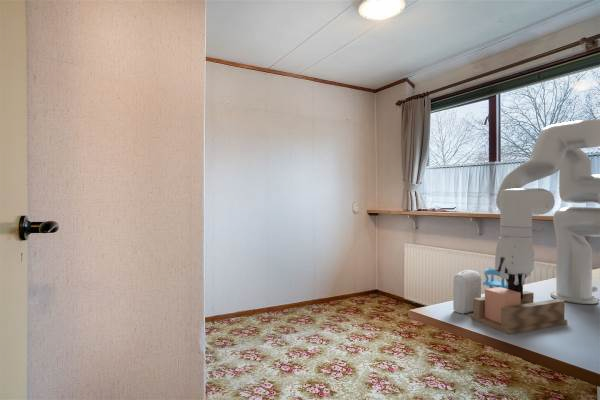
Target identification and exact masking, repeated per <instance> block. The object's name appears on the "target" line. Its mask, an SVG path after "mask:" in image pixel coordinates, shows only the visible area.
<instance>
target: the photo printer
mask: <svg viewBox="0 0 600 400" xmlns="http://www.w3.org/2000/svg"><path fill="white" fill-rule="evenodd" d="M452 290H453V291H452V292H453V299H452V300H453V301H452V302H453V306H452V307H453V311H454V312H456V313H459V314H468V313H471V312H473V298H480V297H482V276H481V275H480V272H478V271H476V270H475V269H474V270H473V269H472V270H471V269H464V270H462V271H459V272H457V273H456V275H455V276H453V289H452Z"/></svg>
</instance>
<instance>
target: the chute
mask: <svg viewBox="0 0 600 400" xmlns="http://www.w3.org/2000/svg"><path fill="white" fill-rule="evenodd" d="M565 303H566V301H563V300H559V299H556V298H553V299H547V300H542V301H535V302H534V292H531V291H527V290H526V291H525V290H523V299H521V305H515V306H509V307H502V308H501V324H500V323H498V322H495V321H492V320H490V319H487V318H485V296H481V297H480V298H473V311H472V313H473V314H471V315H470V316H471V317H470V318H471V319H472V320H473V321H477V322H478V323H481V324H483V325H486V326H489V327H490V328H494V329H496V330H498V331H501V332H504V333H506V334H509V335H515V334H520V333H525V332H530V331H537V330H540V329H545V328H550V327H551V328H552V327H555V326H562V325H566V324H568V319H566V318H565V308H566V307H565V305H566V304H565Z"/></svg>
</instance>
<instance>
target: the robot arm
mask: <svg viewBox="0 0 600 400" xmlns="http://www.w3.org/2000/svg"><path fill="white" fill-rule="evenodd" d="M538 133H539V134H538V136H537V139H536V141H535V144H534V145H533V148H532V149H531V153H530V155H529V158H527V160H526V161H524V162H523V163H521V164H520V165H518V166H517V167H516V168H514V169H513V170H511V171H510V172H509V173H508V174H507V175H505V177H504V178H503V180H502V182H501V184H500V186H499V187H498V191H497V194H496V197H495V198H496V199H495V205H496V207H497V209H498V210H499V213H500V215H499V217H500V218H499V220H500V221H499V222H500V223H499V225H500V226H499V229H500V230H499V237H498V239H497V243H496V249H495V259H494V261H495V262H494V264H495V265H494V269H495V270H496V271H498V272H500V276H499V277H500V278H501V279H502V278H504V280H506V281H505V282H507V283H508V289H509V290H513V291H516V292H520V293H521V299H523V292H524V284H525V282H526V281H525V280H526V278H528V277H531V273H532V272H533V271H534V269H535V249H534V243H533V215H545V214H547V213H550V212H551V211H552V210H553V208H554V207H555V201H556V200H555V196H554V194H553V193H552V192H551V191H550V190H548V189H545V188H538V187H537V188H534V187H533V188H525V187H524V186H526V185H528V184H530V183H533V182H536V181H539V180H542V179H544V178H547V177H549V176H552V175H555V174H556V173H557V172H558V175H559V176H558V180H559V181H558V194H559V197H560V200H561V201H562V202H564V203H569V204H598V205H600V174H592V160H591V159H590V157H589V156H588V154H587V153H586V152H584V151H583V150H582V149H587V148H588V149H589V148H591V149H592V148H599V147H600V118H597V119H595V118H594V119H580V120H574V121H568V122H560V123H555V124H550V125H548V126H545V127H543V129H541V131H540V132H538ZM552 216H553V219H552V221H553V226H554V231H555V232H554V233H555V239H556V242H555V244H556V253H555V254H556V259H555V260H556V261H555V262H556V265H555V266H556V269H555V270H556V273H555V274H556V275H555V277H556V278H555V280H556V281H555V288H556V289H555V290H552V291H550V296H551V297H552V298H553V299H559V300H563V301H565V302H568V303H573V304H579V305H580V304H582V305H583V304H584V305H595V304H598V303H599V299H598V298H597V297H596V296H593V293H596V292H598V290H599V289H598V287H596V286H595V285H593V249H592V247H591V244H590V243H589V242H588V241H587V239H586V238H585V237H599V238H600V207H587V206H586V207H585V206H584V207H583V206H567V207H562V208H559V209H557V210H556V211H555V212H554V214H553V215H552Z"/></svg>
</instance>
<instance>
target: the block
mask: <svg viewBox="0 0 600 400" xmlns="http://www.w3.org/2000/svg"><path fill="white" fill-rule="evenodd" d="M484 297H485V318H487V319H490V320H492V321H495V322H498V323H500V324H501V308H502V307H509V306H515V305H521V293H520V292H516V291H513V290H509V289H505V288H502V287H493V288H490V287H488V288H484Z"/></svg>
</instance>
